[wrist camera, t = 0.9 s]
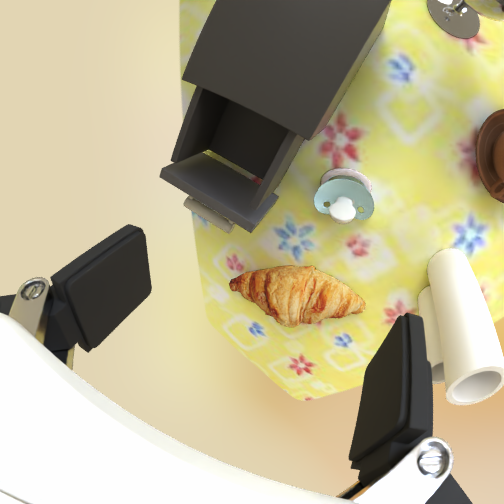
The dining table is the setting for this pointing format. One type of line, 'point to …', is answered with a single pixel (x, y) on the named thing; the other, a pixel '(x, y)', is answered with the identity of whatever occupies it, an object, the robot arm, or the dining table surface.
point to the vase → (459, 331)
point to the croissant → (298, 294)
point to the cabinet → (286, 55)
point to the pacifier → (344, 196)
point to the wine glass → (464, 14)
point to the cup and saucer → (492, 154)
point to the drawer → (235, 150)
